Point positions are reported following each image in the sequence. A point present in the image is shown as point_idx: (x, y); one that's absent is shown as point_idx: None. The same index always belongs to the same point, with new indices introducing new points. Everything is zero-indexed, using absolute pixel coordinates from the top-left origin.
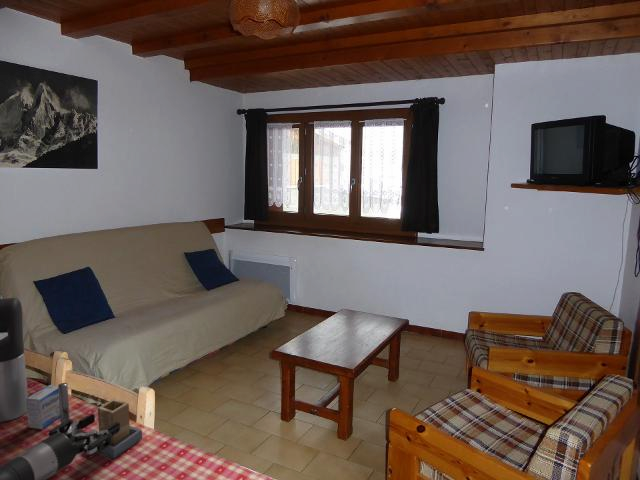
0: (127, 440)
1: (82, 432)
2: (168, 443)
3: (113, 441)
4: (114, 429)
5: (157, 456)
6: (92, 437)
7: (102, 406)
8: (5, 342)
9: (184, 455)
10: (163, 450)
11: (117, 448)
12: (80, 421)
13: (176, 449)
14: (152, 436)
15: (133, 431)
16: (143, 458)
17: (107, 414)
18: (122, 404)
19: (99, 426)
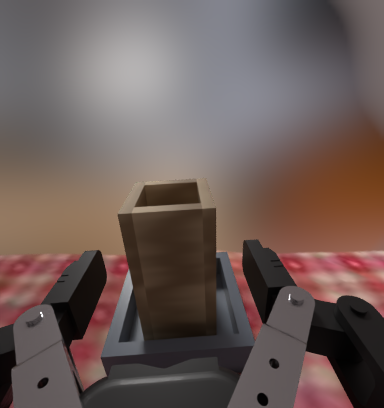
0: (238, 291)
1: (175, 390)
2: (292, 258)
3: (214, 315)
4: (285, 270)
5: (334, 296)
6: (113, 336)
7: (130, 205)
8: None
9: (370, 266)
10: (314, 276)
11: (250, 332)
12: (59, 306)
13: (330, 262)
14: (237, 259)
15: None
16: None
17: (182, 225)
18: (187, 187)
19: (137, 288)
